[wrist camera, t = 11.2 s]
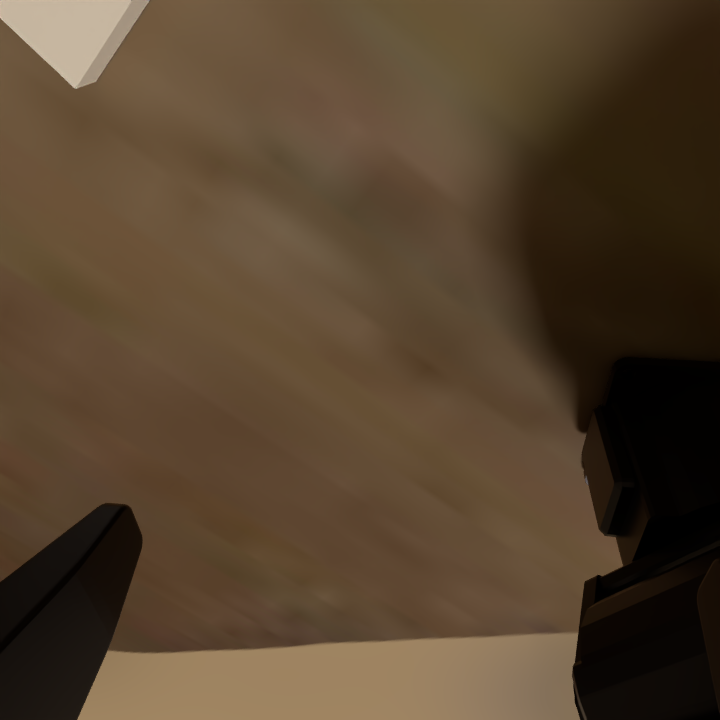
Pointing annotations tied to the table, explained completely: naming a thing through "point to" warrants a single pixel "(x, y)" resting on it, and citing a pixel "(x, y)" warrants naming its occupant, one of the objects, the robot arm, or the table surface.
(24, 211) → the table surface
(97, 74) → the stub base plate
